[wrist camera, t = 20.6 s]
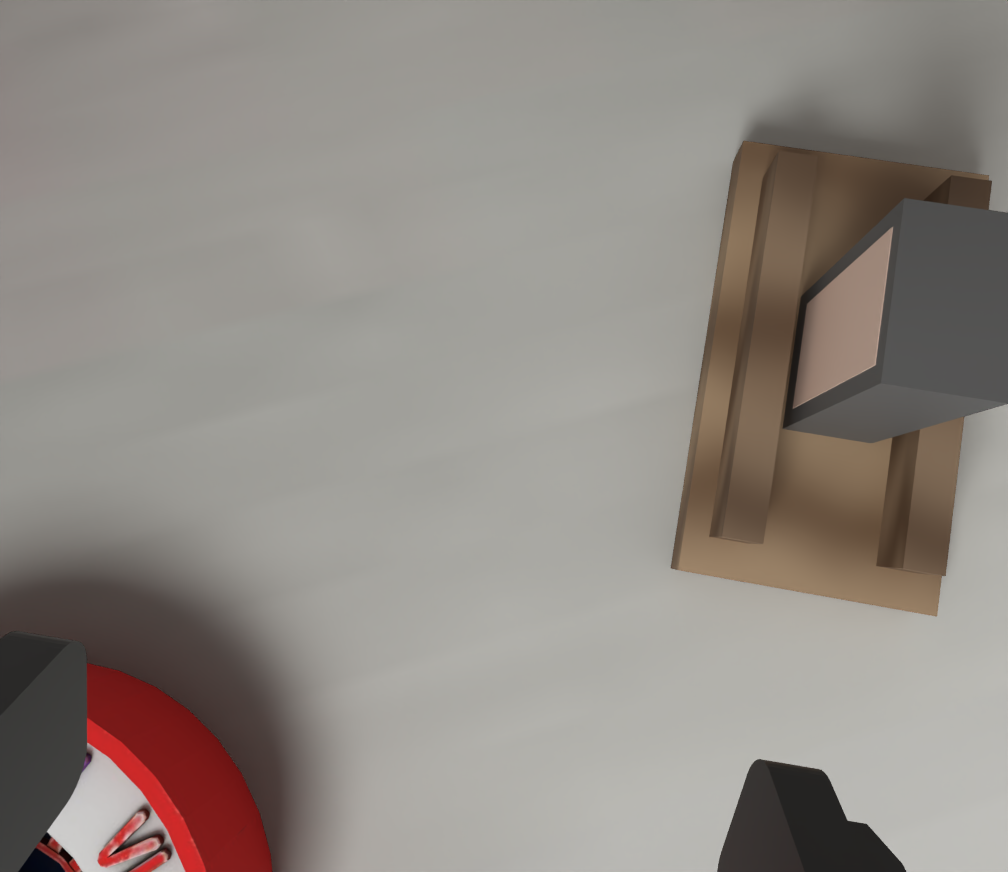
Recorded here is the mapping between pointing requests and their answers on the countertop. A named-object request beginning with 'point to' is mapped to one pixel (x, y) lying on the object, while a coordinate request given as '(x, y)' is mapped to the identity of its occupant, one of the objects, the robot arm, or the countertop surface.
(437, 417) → the countertop surface
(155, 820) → the toy clock
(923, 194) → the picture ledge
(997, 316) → the dark grey cuboid
